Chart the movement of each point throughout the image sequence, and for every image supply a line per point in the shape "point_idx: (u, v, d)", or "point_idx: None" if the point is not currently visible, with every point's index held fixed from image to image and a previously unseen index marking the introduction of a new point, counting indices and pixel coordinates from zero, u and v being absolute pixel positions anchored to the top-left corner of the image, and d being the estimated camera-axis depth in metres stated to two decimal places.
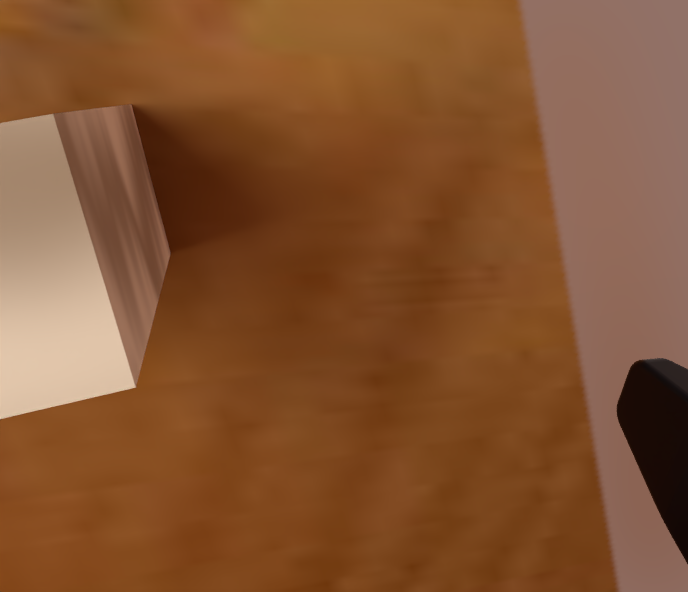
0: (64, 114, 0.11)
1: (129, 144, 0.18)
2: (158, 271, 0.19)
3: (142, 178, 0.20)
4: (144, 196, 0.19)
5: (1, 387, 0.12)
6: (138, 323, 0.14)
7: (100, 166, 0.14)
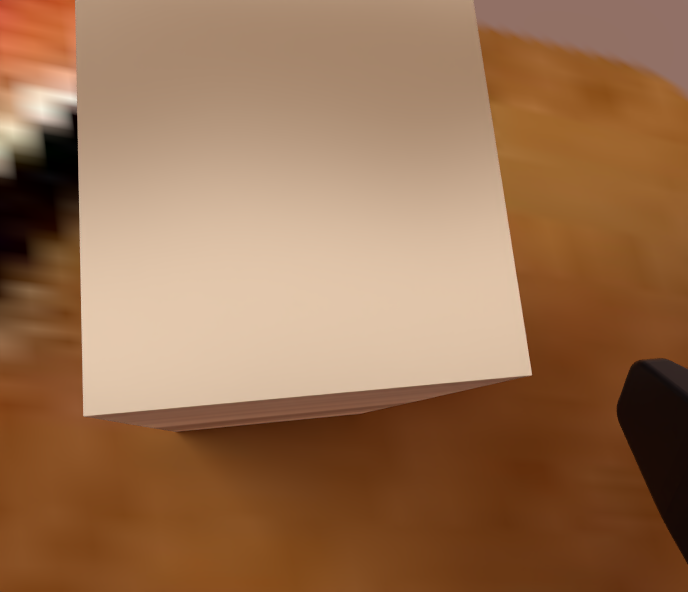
0: None
1: None
2: None
3: None
4: None
5: (339, 340, 0.07)
6: None
7: None
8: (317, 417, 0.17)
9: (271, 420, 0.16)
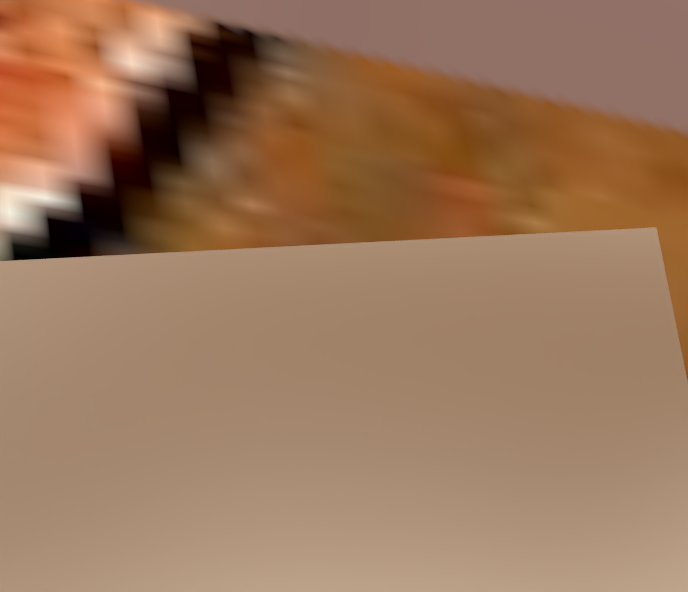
0: None
1: None
2: None
3: None
4: None
5: None
6: None
7: None
8: None
9: None
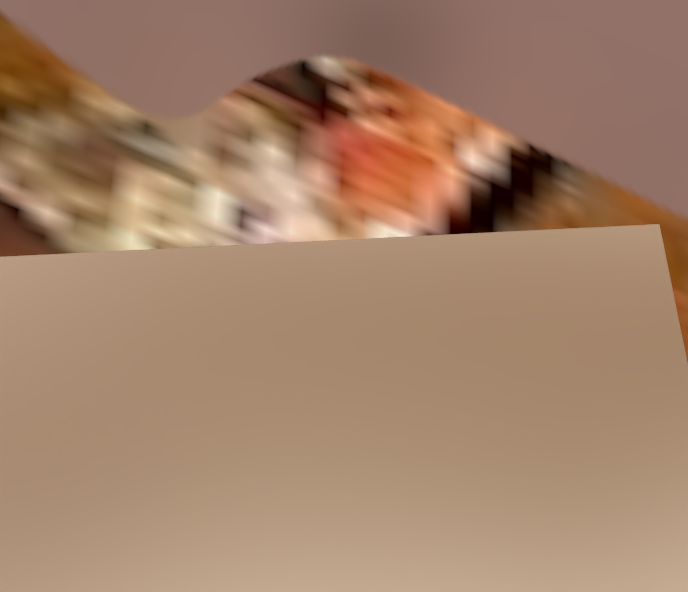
0: None
1: None
2: None
3: None
4: None
5: None
6: None
7: None
8: None
9: None
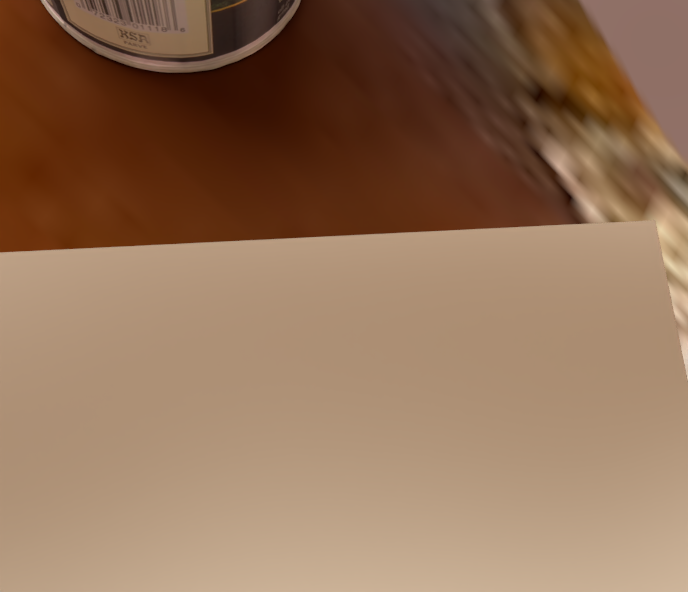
0: None
1: None
2: None
3: None
4: None
5: None
6: None
7: None
8: None
9: None
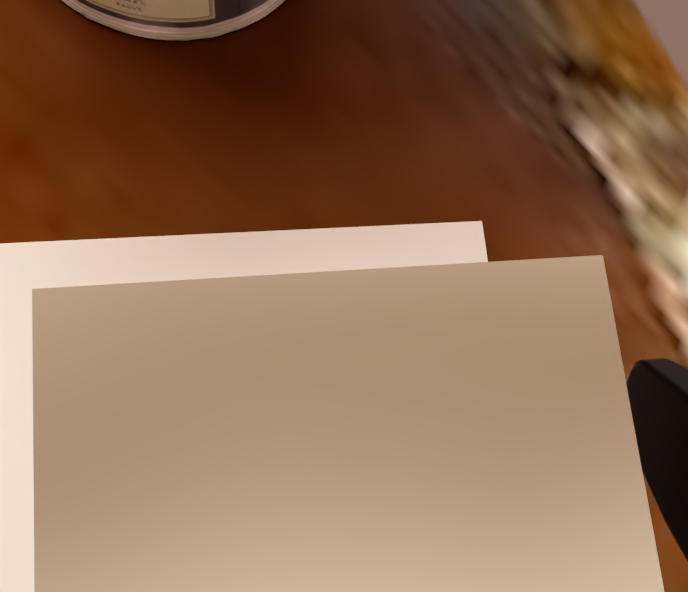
0: None
1: None
2: None
3: None
4: None
5: None
6: None
7: None
8: None
9: None
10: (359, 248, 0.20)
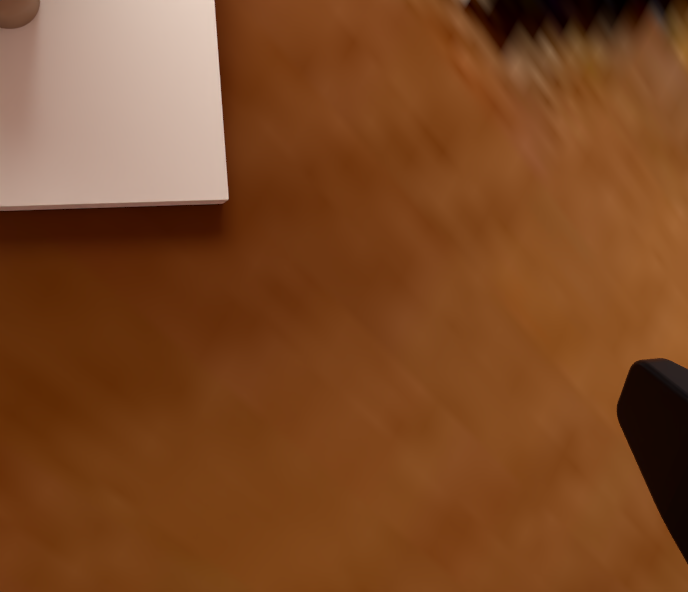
0: None
1: None
2: None
3: None
4: None
5: None
6: None
7: None
8: None
9: None
10: None
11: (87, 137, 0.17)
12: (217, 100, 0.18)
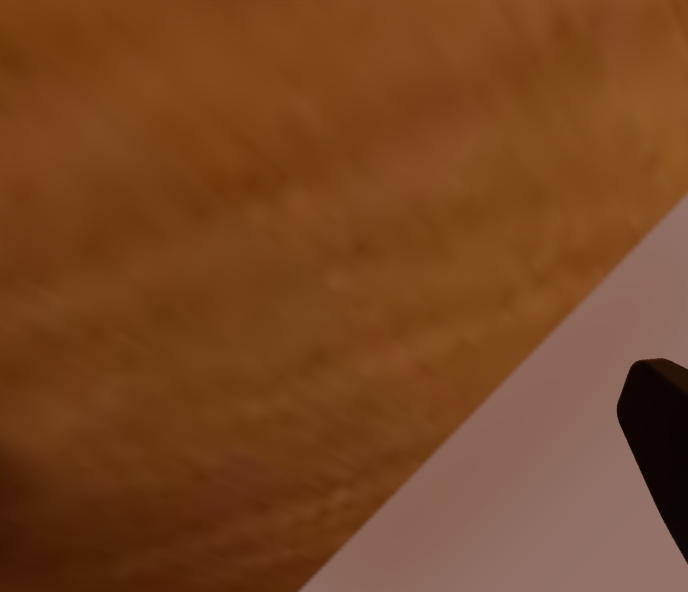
0: None
1: None
2: None
3: None
4: None
5: None
6: None
7: None
8: None
9: None
10: None
11: None
12: None
